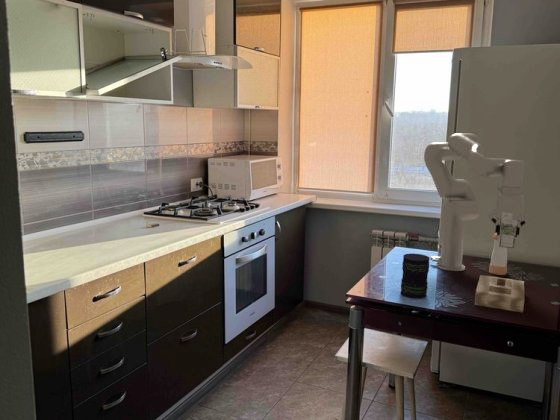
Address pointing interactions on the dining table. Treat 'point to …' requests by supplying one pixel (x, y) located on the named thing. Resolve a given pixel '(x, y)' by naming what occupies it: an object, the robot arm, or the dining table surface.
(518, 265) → the dining table surface
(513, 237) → the syrup box
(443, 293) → the dining table surface
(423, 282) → the storage jar
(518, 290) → the socket block
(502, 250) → the salt shaker
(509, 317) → the dining table surface
